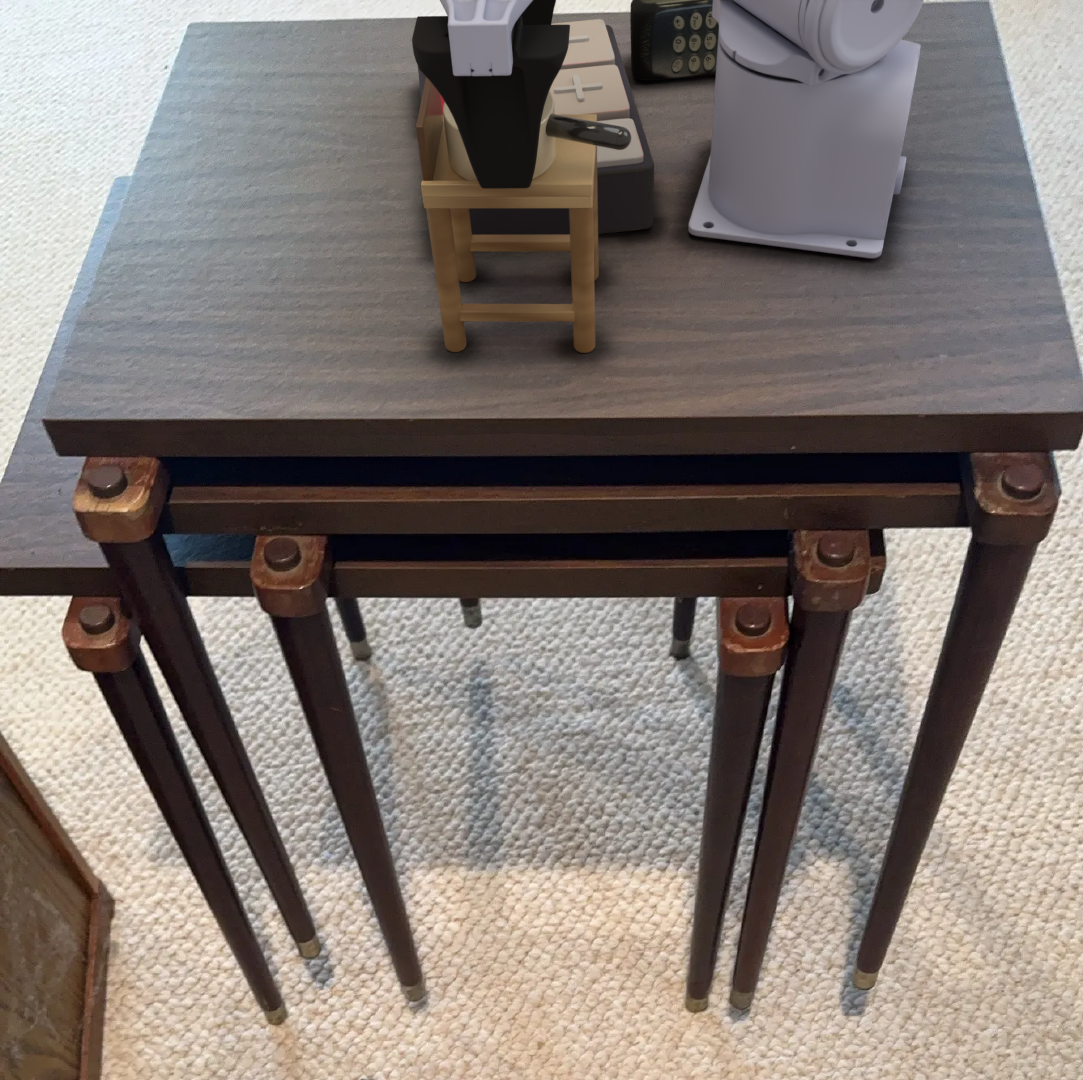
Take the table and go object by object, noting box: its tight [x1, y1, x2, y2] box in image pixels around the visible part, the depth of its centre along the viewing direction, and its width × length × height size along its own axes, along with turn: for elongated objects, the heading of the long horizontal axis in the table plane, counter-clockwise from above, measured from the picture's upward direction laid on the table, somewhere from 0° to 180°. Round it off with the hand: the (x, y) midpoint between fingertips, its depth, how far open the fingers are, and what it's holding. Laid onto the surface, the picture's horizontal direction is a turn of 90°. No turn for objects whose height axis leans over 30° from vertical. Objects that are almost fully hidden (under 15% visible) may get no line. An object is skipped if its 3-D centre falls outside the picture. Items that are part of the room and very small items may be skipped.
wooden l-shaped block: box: [415, 77, 597, 210], centre depth 54 cm, size 7×6×4 cm
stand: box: [425, 146, 600, 354], centre depth 58 cm, size 7×6×8 cm
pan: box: [443, 91, 631, 181], centre depth 53 cm, size 8×5×2 cm, turn 68°
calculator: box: [417, 18, 655, 235], centre depth 67 cm, size 11×4×15 cm
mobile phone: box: [629, 0, 719, 81], centre depth 72 cm, size 5×3×15 cm
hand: (511, 140), depth 54 cm, fingers open, 5 cm apart
